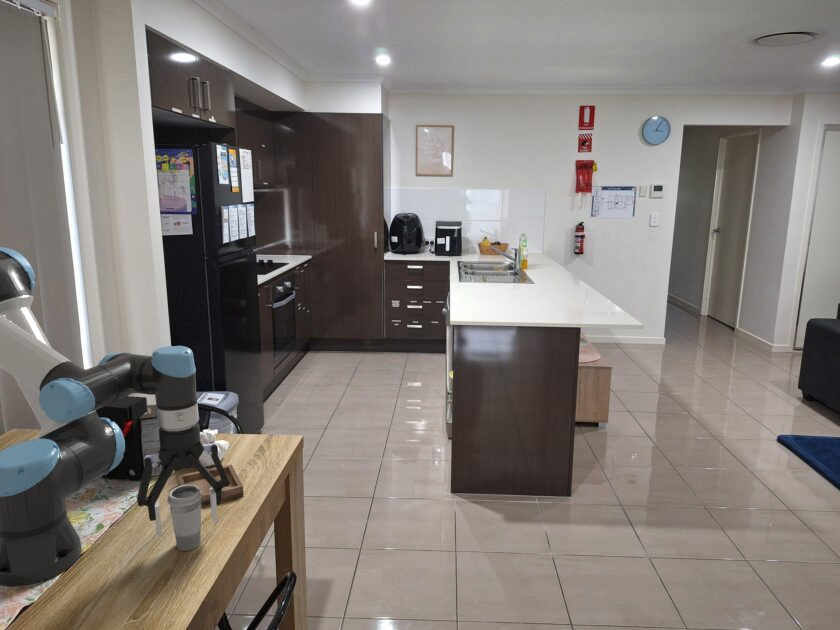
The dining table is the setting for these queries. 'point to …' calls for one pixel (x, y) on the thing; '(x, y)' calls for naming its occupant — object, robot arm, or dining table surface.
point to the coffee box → (151, 436)
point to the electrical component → (127, 435)
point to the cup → (186, 515)
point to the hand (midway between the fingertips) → (187, 525)
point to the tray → (197, 479)
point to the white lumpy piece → (206, 439)
